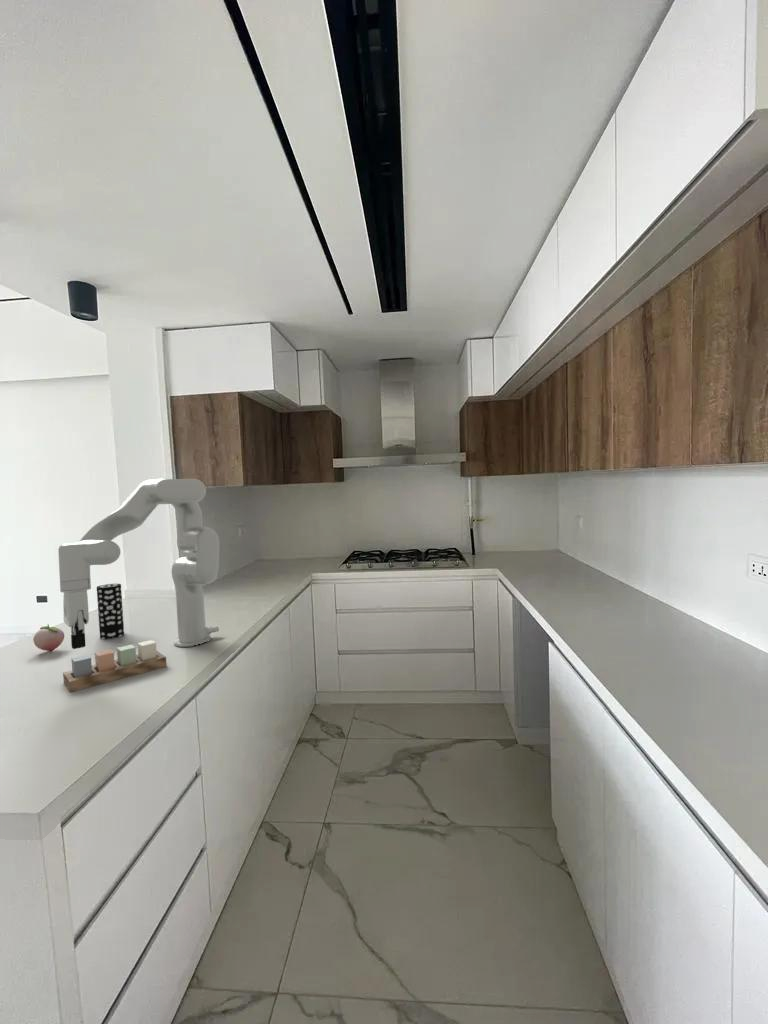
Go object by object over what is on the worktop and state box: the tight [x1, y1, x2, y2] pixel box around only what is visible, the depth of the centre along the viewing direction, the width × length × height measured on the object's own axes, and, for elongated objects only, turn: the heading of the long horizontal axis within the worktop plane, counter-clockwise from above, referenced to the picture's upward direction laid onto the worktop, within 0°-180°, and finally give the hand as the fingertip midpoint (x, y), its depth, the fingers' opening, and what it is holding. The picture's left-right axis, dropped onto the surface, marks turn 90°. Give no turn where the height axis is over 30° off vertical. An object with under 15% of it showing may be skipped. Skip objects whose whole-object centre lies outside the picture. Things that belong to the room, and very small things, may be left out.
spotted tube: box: [96, 583, 125, 640], centre depth 186 cm, size 8×8×20 cm
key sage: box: [116, 644, 137, 666], centre depth 148 cm, size 4×4×5 cm
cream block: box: [137, 639, 157, 661], centre depth 152 cm, size 4×4×5 cm
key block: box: [62, 649, 168, 693], centre depth 146 cm, size 26×10×3 cm, turn 133°
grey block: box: [70, 654, 92, 678], centre depth 140 cm, size 4×4×5 cm
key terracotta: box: [94, 649, 115, 672], centre depth 144 cm, size 4×4×5 cm
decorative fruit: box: [32, 623, 65, 652], centre depth 169 cm, size 9×8×10 cm
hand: (78, 647), depth 139 cm, fingers closed
